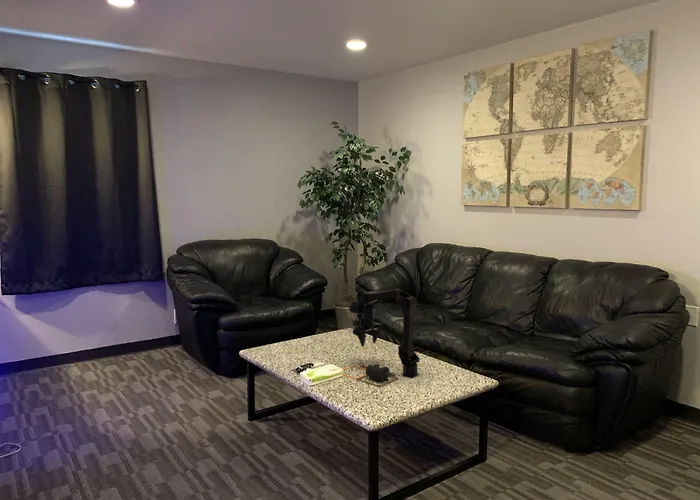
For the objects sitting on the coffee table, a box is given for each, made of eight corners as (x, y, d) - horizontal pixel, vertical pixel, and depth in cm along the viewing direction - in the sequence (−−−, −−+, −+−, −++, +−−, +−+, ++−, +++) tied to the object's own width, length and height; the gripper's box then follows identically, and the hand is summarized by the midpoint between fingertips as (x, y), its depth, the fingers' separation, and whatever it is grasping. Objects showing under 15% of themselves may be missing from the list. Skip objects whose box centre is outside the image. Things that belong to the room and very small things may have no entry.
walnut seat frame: (398, 379, 256) (398, 378, 256) (379, 387, 246) (379, 386, 245) (375, 372, 266) (375, 371, 266) (356, 380, 255) (356, 379, 255)
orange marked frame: (375, 372, 266) (375, 371, 266) (356, 379, 256) (356, 378, 256) (354, 366, 276) (354, 365, 276) (334, 373, 266) (334, 372, 265)
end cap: (365, 379, 257) (365, 365, 256) (375, 375, 262) (375, 362, 261) (380, 384, 250) (380, 370, 249) (390, 380, 255) (390, 366, 254)
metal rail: (395, 376, 261) (395, 373, 260) (393, 376, 259) (393, 374, 259) (362, 366, 275) (362, 364, 275) (360, 367, 274) (360, 364, 274)
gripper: (368, 310, 288) (368, 338, 289) (344, 316, 274) (345, 345, 276) (383, 313, 280) (384, 342, 282) (360, 320, 267) (361, 349, 268)
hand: (368, 344), depth 277 cm, fingers open, 9 cm apart
